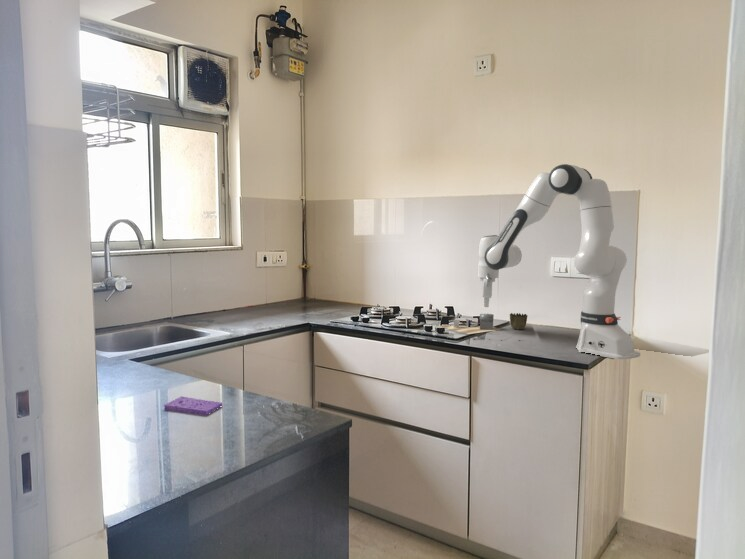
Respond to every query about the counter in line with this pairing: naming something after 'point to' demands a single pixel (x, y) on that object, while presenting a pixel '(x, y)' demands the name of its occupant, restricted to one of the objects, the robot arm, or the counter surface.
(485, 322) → the grey cube
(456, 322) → the shaft
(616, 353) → the robot arm
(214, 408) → the sponges
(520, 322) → the cup
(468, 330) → the board
